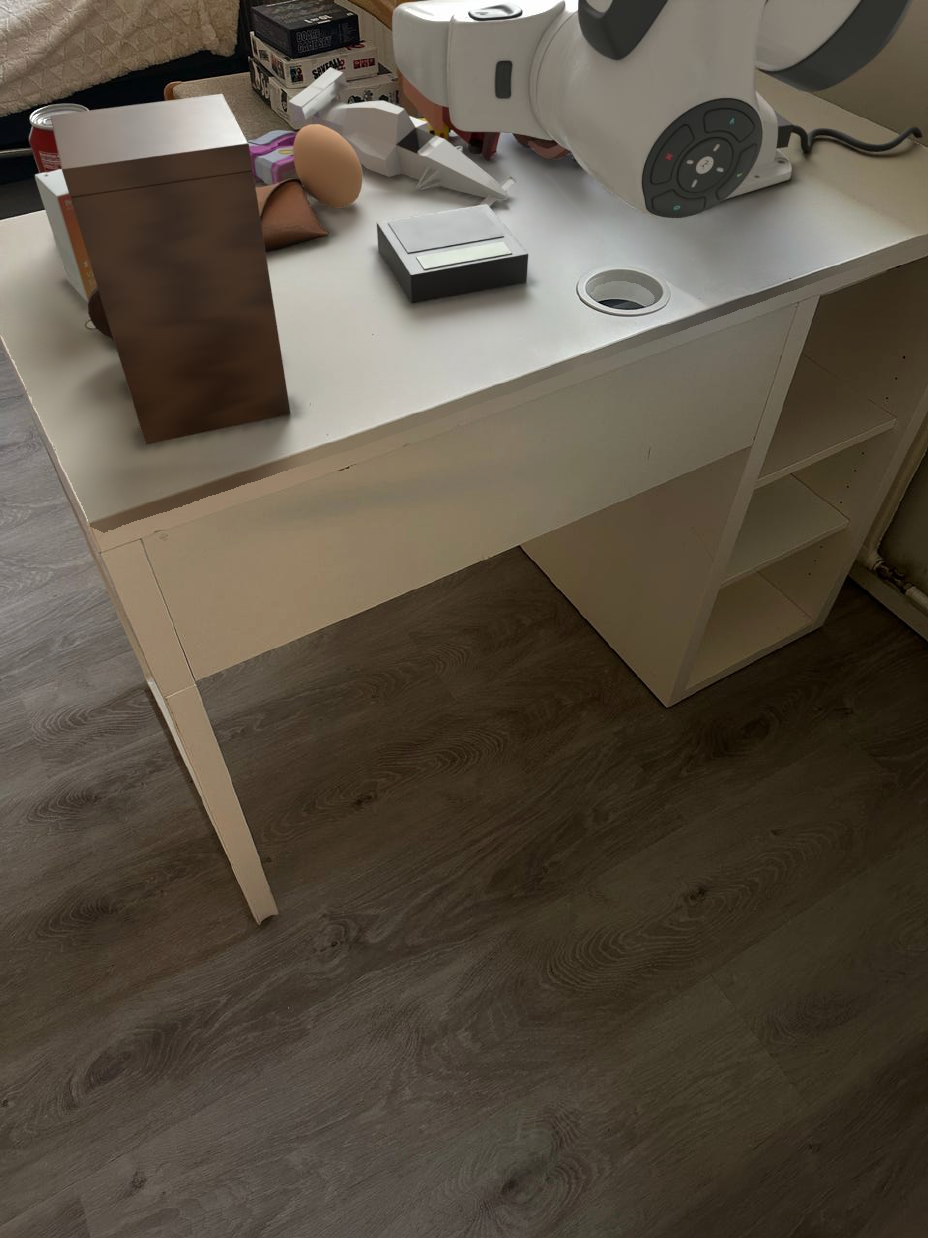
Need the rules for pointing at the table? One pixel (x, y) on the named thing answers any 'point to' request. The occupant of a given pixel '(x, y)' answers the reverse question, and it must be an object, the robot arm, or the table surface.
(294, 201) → the sunglasses case
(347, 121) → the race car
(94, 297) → the compass
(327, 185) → the egg
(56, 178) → the small box
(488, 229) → the calculator
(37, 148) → the soda can
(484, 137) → the toy truck
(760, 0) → the robot arm
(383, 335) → the table surface
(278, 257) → the table surface
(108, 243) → the tall brown rectangular box
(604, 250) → the table surface
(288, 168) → the toy gun
